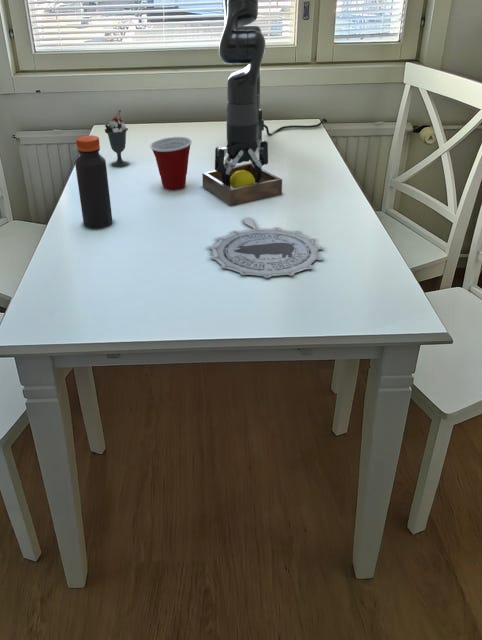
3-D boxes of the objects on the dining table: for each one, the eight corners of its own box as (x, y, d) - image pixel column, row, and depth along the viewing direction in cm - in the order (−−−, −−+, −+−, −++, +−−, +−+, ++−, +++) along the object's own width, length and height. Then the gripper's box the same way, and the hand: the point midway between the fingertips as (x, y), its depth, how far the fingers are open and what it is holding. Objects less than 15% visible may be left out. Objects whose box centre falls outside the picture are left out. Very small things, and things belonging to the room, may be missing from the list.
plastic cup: (152, 180, 173) (149, 136, 166) (192, 178, 173) (190, 134, 167) (153, 195, 164) (149, 149, 157) (194, 193, 164) (193, 146, 158)
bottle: (78, 223, 150) (66, 138, 139) (103, 215, 153) (93, 132, 142) (92, 232, 145) (80, 145, 134) (118, 224, 149) (108, 138, 138)
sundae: (133, 160, 188) (128, 108, 180) (128, 168, 182) (123, 114, 174) (111, 160, 188) (105, 108, 180) (106, 168, 183) (100, 114, 175)
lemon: (253, 186, 167) (253, 166, 164) (256, 193, 163) (256, 173, 160) (227, 188, 167) (226, 167, 164) (229, 195, 162) (229, 174, 159)
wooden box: (251, 177, 173) (251, 162, 171) (281, 194, 162) (282, 179, 160) (202, 187, 168) (202, 172, 165) (230, 206, 156) (230, 190, 154)
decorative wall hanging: (339, 272, 125) (301, 214, 150) (339, 271, 125) (301, 213, 150) (217, 282, 123) (199, 222, 148) (217, 281, 123) (199, 221, 148)
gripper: (223, 128, 149) (224, 194, 158) (274, 119, 155) (272, 183, 163) (208, 121, 155) (210, 185, 164) (258, 113, 160) (257, 175, 169)
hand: (241, 184), depth 164 cm, fingers open, 8 cm apart
